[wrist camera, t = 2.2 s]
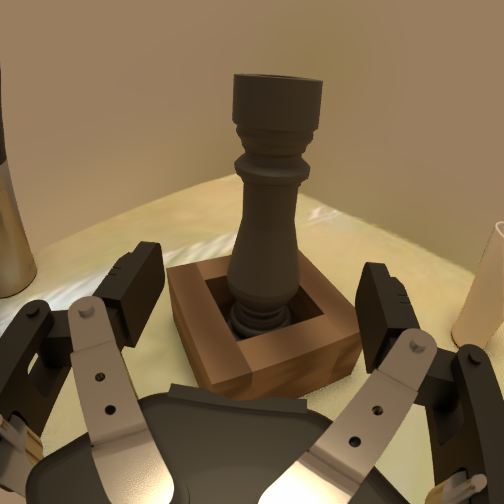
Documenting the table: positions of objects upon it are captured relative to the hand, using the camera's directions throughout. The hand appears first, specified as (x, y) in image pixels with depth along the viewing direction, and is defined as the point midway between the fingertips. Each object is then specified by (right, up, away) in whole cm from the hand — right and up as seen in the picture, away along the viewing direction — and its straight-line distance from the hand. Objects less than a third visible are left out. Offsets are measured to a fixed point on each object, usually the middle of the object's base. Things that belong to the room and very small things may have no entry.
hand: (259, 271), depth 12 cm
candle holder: (0, -9, +20) cm, 22 cm away
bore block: (0, -9, +20) cm, 22 cm away
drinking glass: (+27, -10, +20) cm, 35 cm away
